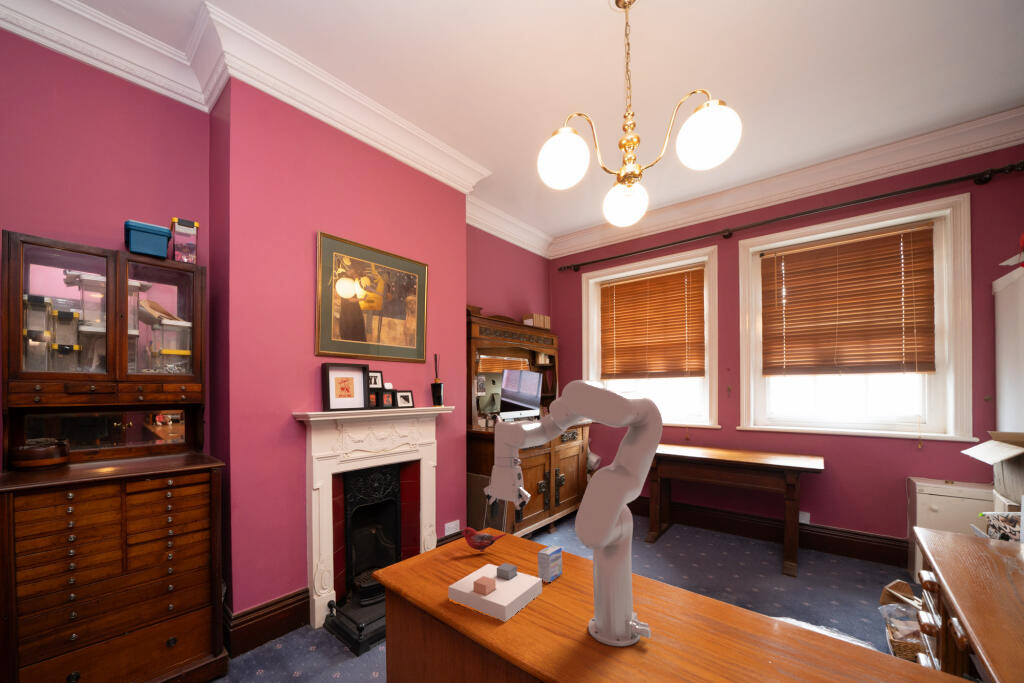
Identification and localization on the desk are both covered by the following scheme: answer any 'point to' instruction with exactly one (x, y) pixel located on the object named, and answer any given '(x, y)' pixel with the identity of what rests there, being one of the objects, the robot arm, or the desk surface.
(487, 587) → the terracotta key
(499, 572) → the grey key
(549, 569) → the medicine box
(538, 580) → the key console
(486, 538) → the decorative bird figurine
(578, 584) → the desk surface
